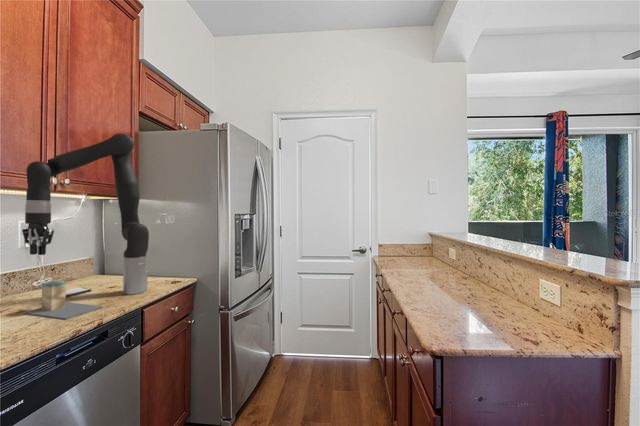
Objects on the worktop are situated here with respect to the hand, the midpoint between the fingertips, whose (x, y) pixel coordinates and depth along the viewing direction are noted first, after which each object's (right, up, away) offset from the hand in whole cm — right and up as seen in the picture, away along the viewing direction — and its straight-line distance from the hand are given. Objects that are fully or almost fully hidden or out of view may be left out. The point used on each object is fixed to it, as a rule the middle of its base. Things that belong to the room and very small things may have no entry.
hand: (37, 254), depth 118 cm
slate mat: (+14, -22, -3) cm, 26 cm away
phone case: (-3, -22, +18) cm, 29 cm away
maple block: (+8, -21, -2) cm, 23 cm away
